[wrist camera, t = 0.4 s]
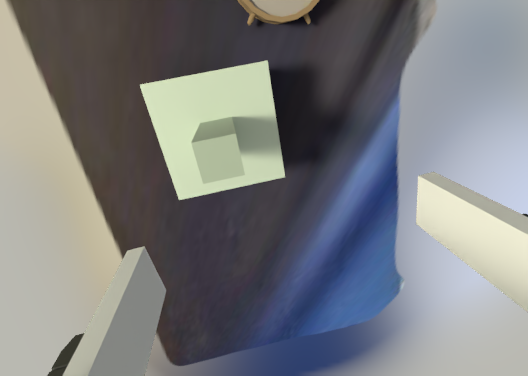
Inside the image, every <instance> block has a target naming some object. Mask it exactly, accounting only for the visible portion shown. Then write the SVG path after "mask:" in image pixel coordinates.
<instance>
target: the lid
mask: <svg viewBox="0 0 528 376" xmlns="http://www.w3.org/2000/svg"><path fill="white" fill-rule="evenodd" d="M140 88H141V91H142V93H143V96H144V99H145V102H146V105H147V108H148V111H149V114H150V117H151V120H152V123H153V125H154V128H155V131H156V134H157V137H158V140H159V143H160V146H161V149H162V152H163V155H164V157H165V160H166V163H167V166H168V169H169V172H170V175H171V178H172V181H173V184H174V187H175V189H176V192H177V195H178V198H179V200H182V199H187V198H191V197H196V196H200V195H205V194H209V193H214V192H219V191H223V190H228V189H232V188H237V187H242V186H246V185H251V184H255V183H260V182H264V181H269V180H274V179H278V178H283V177H285V173H284V166H283V160H282V153H281V146H280V140H279V133H278V127H277V120H276V113H275V107H274V100H273V94H272V87H271V80H270V74H269V67H268V61H263V62H258V63H252V64H247V65H242V66H236V67H231V68H226V69H221V70H215V71H210V72H205V73H200V74H194V75H189V76H184V77H179V78H173V79H168V80H163V81H157V82H152V83H147V84H142V85H140Z"/></svg>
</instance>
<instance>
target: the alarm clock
mask: <svg viewBox="0 0 528 376" xmlns="http://www.w3.org/2000/svg"><path fill="white" fill-rule="evenodd" d="M318 1H319V0H238V2H239V3H240V4H241V5H242V6H243V8H244V9H245V10H246V11H247V12H248V13H249V14H250V16H249V19H248V22H247V24H248V25H251V24H252V22H253V21H254V19H255V18H257V19H259V20H261V21H262V22H266V23H272V24H281V23H286V22H290V21H293V20H296V19H298V18H300V17H301V16H303V17H304V19H305V21H306V22H307V24H309V23H311V21H310V17H309V15H308V12H309V11H311V10H312V9H313V7H314V6H315V5H316V4H317V3H318Z"/></svg>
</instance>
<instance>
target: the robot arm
mask: <svg viewBox="0 0 528 376" xmlns="http://www.w3.org/2000/svg"><path fill="white" fill-rule="evenodd" d="M417 195H418V196H417V216H416V224H417V225H418V226H420V227H421V228H422V229H423V230H425V231H426V232H427V233H428V234H430V235H431V236H432V237H433V238H435V239H436V240H437V241H439V242H440V243H441V244H442V245H443V246H445V247H446V248H447V249H449V250H450V251H451V252H452V253H454V254H455V255H456V256H457V257H459V258H460V259H461V260H462V261H464V262H465V263H466V264H467V265H469V266H470V267H471V268H472V269H474V270H475V271H476V272H478V273H479V274H480V275H481V276H483V277H484V278H485V279H486V280H488V281H489V282H490V283H491V284H493V285H494V286H495V287H496V288H498V289H499V290H500V291H501V292H503V293H504V294H505V295H507V296H508V297H509V298H510V299H512V300H513V301H514V302H515V303H517V304H518V305H519V306H520V307H522V308H523V309H524V310H526V311H527V312H528V215H527V214H520V213H518V212H516V211H514V210H512V209H510V208H508V207H505V206H503V205H501V204H499V203H497V202H495V201H493V200H491V199H489V198H487V197H485V196H483V195H480V194H478V193H476V192H474V191H472V190H470V189H468V188H466V187H464V186H462V185H460V184H458V183H455V182H453V181H451V180H450V179H447V178H445V177H443V176H441V175H439V174H437V173H435V172H431V173H427V174H423V175H419V176H418V194H417ZM165 293H166V289H165V287H164V285H163V283H162V281H161V279H160V277H159V275H158V273H157V271H156V269H155V267H154V265H153V263H152V261H151V259H150V257H149V255H148V253H147V251H146V249H145V247H140V248H136V249H132V250H128V251H127V253H126V254H125V256H124V258H123V260H122V262H121V264H120V266H119V268H118V270H117V272H116V274H115V276H114V278H113V280H112V281H111V283H110V285H109V287H108V289H107V291H106V293H105V295H104V297H103V299H102V301H101V303H100V305H99V306H98V309H97V310H96V313H95V314H94V316H93V318H92V320H91V322H90V324H89V326H88V328H87V330H86V331H85V333H83V334H79V335H76V336H75V337H74V338H73V339H72V340H71V341H70V342H69V344H68V345H67V346H66V347H65V348H64V349H63V350H62V351H61V353H60V355H59V357H58V358H57V360H56V362H55V363H54V365H53V367H52V371H51V372H49V374H48V376H145V373H146V369H147V365H148V361H149V357H150V353H151V349H152V345H153V341H154V337H155V333H156V329H157V325H158V321H159V317H160V313H161V309H162V305H163V301H164V297H165Z"/></svg>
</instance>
